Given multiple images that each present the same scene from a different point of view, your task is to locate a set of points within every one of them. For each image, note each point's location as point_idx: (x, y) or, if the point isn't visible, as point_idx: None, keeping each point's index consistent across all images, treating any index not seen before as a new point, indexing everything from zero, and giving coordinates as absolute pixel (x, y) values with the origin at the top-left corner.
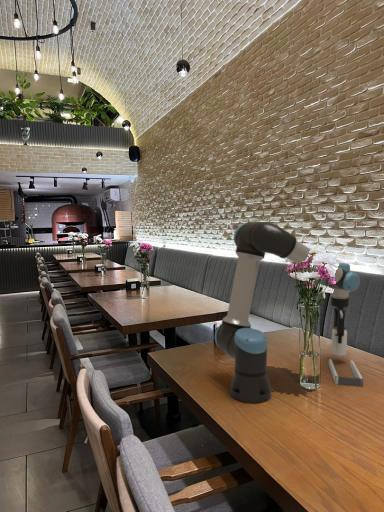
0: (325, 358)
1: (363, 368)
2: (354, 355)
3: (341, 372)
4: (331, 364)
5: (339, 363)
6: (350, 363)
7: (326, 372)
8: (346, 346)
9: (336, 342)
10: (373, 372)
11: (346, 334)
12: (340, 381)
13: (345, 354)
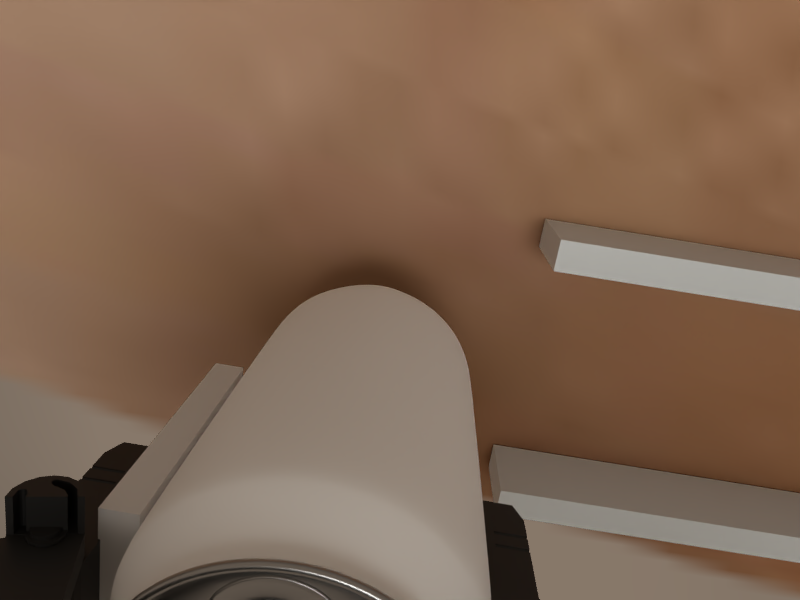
0: None
1: (589, 92)
2: (83, 30)
3: (694, 397)
4: (682, 538)
5: None
6: (550, 260)
7: None
8: (410, 343)
9: None
10: (739, 7)
11: (432, 497)
12: None
13: (439, 317)
